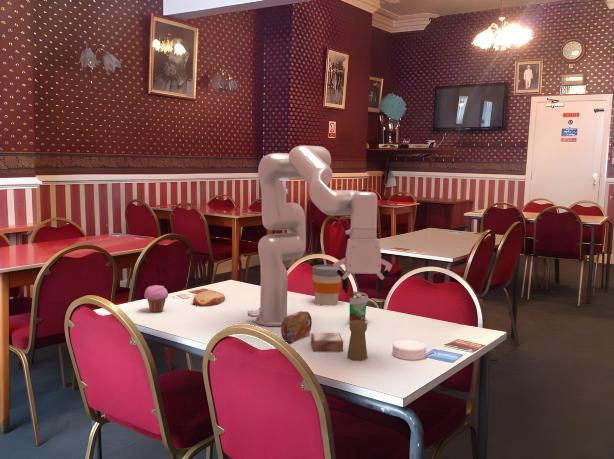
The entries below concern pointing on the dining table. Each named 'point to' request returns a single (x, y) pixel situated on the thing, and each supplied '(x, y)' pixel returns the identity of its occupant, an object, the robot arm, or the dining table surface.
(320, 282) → the reusable coffee cup
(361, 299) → the food container
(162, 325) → the dining table surface
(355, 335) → the cork
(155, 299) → the cupcake
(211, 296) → the bread slice
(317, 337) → the plinth
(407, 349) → the white round disc
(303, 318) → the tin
